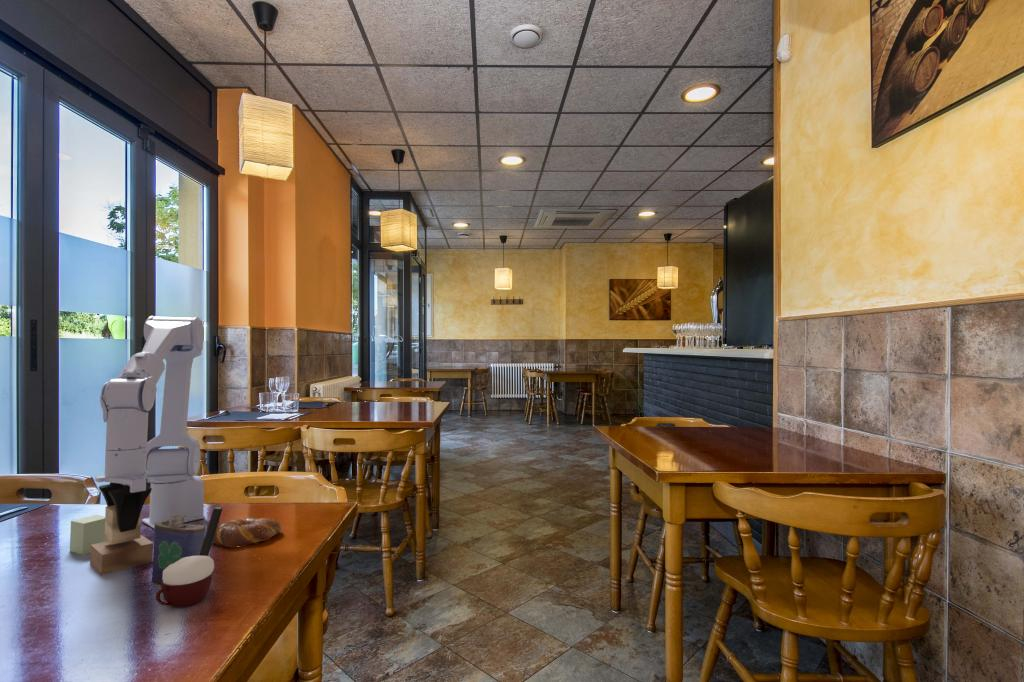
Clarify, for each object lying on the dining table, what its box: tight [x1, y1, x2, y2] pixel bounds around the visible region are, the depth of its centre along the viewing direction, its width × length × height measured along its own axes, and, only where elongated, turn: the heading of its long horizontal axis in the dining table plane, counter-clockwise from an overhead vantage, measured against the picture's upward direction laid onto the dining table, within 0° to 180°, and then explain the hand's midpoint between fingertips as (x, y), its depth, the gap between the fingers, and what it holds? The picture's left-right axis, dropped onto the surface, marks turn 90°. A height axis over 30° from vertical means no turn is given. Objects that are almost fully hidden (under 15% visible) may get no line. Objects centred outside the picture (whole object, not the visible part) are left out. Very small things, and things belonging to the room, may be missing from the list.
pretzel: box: [212, 517, 282, 548], centre depth 99 cm, size 12×11×4 cm
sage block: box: [69, 514, 106, 556], centre depth 92 cm, size 4×4×6 cm
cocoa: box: [155, 506, 223, 608], centre depth 73 cm, size 10×6×12 cm, turn 139°
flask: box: [151, 513, 206, 586], centre depth 79 cm, size 9×3×11 cm, turn 74°
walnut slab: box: [89, 534, 154, 576], centre depth 86 cm, size 7×7×4 cm
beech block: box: [104, 505, 142, 545], centre depth 87 cm, size 4×4×6 cm
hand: (123, 527), depth 87 cm, fingers closed on beech block, 4 cm apart
